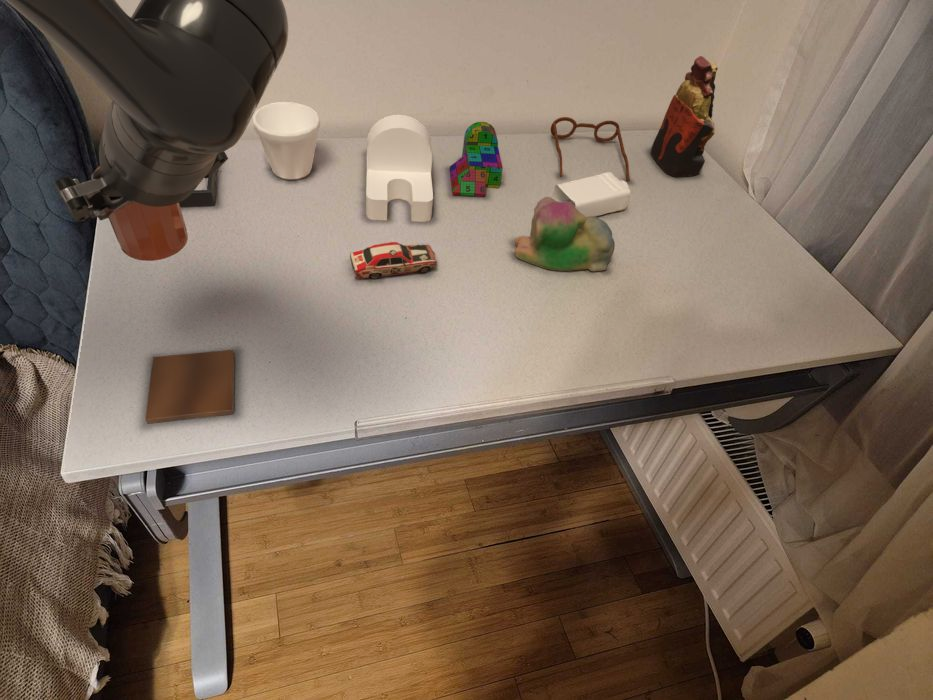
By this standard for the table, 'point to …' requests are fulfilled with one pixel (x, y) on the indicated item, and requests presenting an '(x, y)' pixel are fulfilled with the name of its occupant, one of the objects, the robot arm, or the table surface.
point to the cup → (288, 137)
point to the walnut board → (191, 386)
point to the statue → (687, 123)
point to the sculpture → (565, 239)
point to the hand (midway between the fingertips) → (134, 196)
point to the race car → (392, 260)
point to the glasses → (575, 125)
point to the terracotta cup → (149, 230)
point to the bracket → (399, 167)
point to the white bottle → (594, 194)
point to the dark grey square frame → (202, 195)
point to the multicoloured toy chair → (477, 162)
